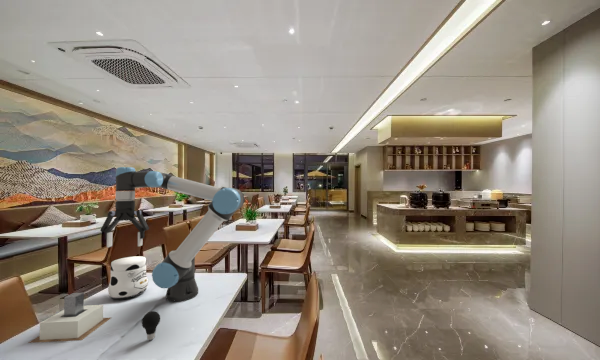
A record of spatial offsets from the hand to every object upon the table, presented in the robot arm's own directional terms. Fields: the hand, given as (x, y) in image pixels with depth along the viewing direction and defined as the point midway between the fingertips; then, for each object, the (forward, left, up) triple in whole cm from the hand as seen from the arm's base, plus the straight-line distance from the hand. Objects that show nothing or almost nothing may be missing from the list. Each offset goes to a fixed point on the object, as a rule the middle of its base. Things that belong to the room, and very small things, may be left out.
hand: (124, 246), depth 117 cm
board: (+8, +18, -29) cm, 35 cm away
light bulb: (-25, +26, -29) cm, 46 cm away
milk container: (+8, -17, -29) cm, 35 cm away
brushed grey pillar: (+8, +18, -26) cm, 33 cm away
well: (+8, +18, -28) cm, 34 cm away
